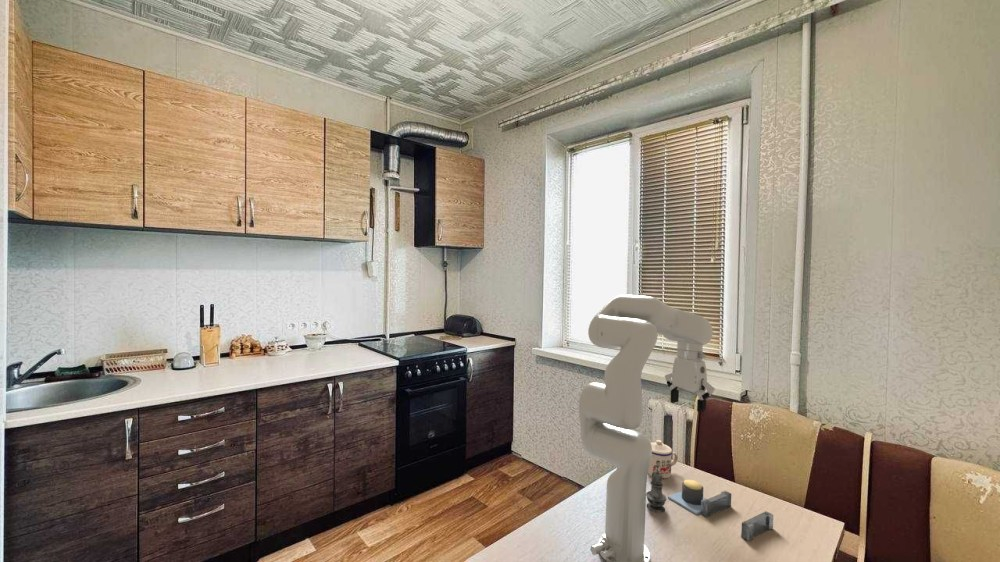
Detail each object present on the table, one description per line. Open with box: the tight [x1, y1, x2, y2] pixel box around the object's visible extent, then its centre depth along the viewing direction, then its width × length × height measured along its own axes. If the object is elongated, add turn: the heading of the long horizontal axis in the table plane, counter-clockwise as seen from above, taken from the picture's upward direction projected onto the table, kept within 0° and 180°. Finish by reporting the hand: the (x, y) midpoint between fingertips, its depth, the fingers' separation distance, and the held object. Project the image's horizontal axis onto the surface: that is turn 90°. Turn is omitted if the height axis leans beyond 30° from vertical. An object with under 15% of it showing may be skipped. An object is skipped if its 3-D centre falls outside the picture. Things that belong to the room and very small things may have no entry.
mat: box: [667, 490, 707, 516], centre depth 125 cm, size 10×10×1 cm
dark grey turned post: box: [646, 469, 668, 514], centre depth 121 cm, size 6×6×12 cm
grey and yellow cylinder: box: [681, 479, 704, 505], centre depth 125 cm, size 6×6×5 cm
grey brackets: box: [700, 490, 774, 542], centre depth 116 cm, size 12×14×4 cm
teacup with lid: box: [648, 439, 679, 479], centre depth 143 cm, size 12×9×12 cm
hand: (687, 406), depth 130 cm, fingers open, 9 cm apart
